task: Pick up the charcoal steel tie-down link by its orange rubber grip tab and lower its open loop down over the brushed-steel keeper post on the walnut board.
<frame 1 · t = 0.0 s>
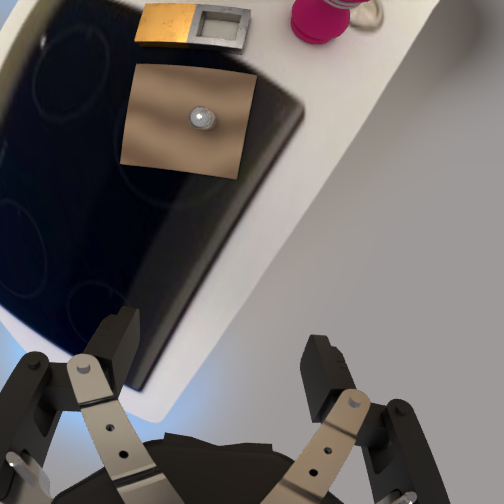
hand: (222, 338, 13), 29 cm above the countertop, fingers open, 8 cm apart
pepper mill: (312, 25, 31), on the countertop
keeper post: (208, 121, 36), resting on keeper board
link: (220, 32, 31), on the countertop
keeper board: (186, 118, 36), on the countertop
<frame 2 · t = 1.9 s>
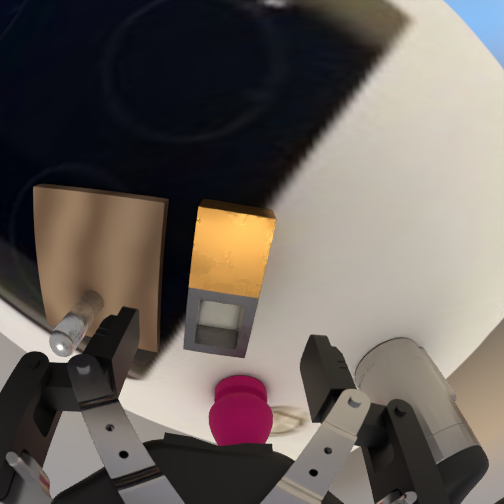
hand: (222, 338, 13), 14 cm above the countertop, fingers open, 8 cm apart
pepper mill: (240, 390, 34), on the countertop
keeper post: (98, 293, 28), resting on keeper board
link: (220, 308, 29), on the countertop
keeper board: (97, 268, 27), on the countertop
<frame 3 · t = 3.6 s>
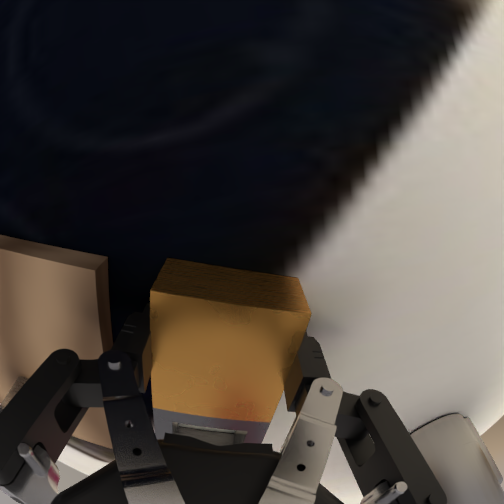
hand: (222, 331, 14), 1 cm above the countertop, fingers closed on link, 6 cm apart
keeper post: (39, 375, 16), resting on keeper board
link: (209, 411, 17), on the countertop, touching gripper
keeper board: (28, 346, 15), on the countertop
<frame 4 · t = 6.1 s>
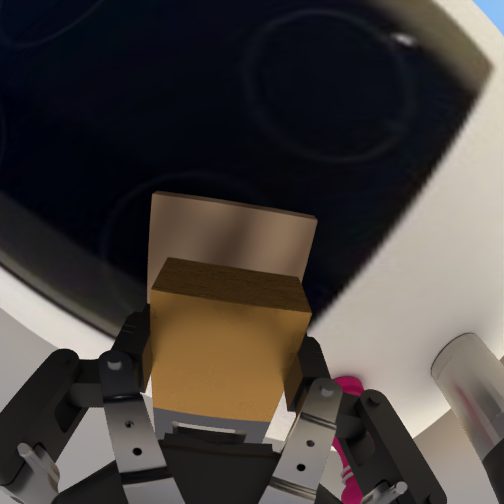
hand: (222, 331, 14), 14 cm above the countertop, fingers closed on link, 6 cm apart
pepper mill: (339, 391, 35), on the countertop
link: (209, 411, 17), point 13 cm above the countertop, touching gripper
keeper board: (222, 283, 29), on the countertop
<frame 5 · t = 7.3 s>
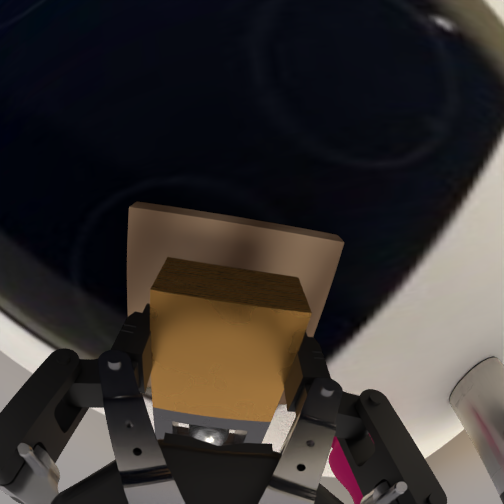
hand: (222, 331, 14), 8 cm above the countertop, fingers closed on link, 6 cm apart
pepper mill: (351, 424, 30), on the countertop
keeper post: (216, 346, 24), resting on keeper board
link: (209, 411, 17), point 7 cm above the countertop, touching gripper
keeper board: (221, 317, 23), on the countertop
when the fingers open (4 cm above the countertop, at t = 8.5 s): link drops 2 cm, resting on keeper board.
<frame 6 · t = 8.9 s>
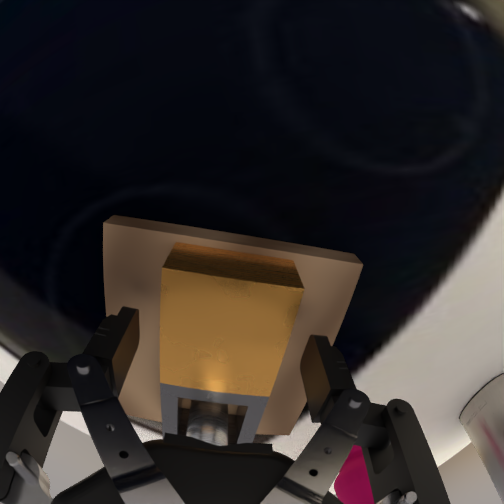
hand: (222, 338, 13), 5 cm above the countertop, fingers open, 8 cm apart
pepper mill: (358, 447, 26), on the countertop
keeper post: (211, 377, 20), resting on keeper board
link: (212, 391, 19), point 1 cm above the countertop, touching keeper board
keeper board: (216, 347, 19), on the countertop
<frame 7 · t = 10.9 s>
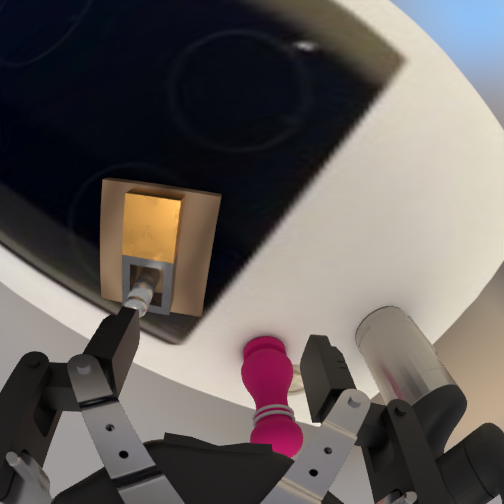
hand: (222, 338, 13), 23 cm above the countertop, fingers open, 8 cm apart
pepper mill: (264, 350, 44), on the countertop
keeper post: (153, 269, 37), resting on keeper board
link: (151, 274, 36), point 1 cm above the countertop, touching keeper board
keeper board: (155, 248, 36), on the countertop
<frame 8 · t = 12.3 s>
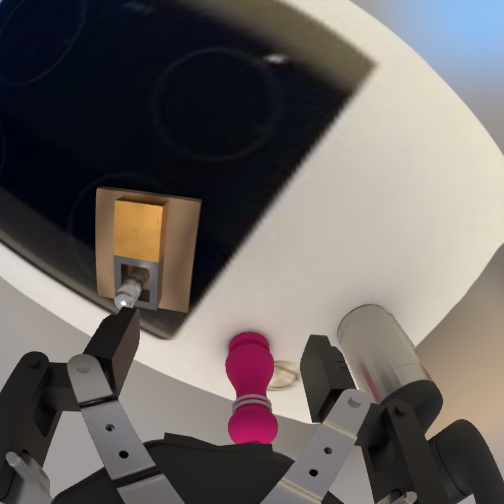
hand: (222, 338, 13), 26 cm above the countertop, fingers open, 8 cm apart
pepper mill: (248, 346, 46), on the countertop
keeper post: (144, 269, 40), resting on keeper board
link: (141, 273, 39), point 1 cm above the countertop, touching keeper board
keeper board: (144, 249, 39), on the countertop
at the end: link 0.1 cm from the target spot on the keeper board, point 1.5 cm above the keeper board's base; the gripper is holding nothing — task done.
